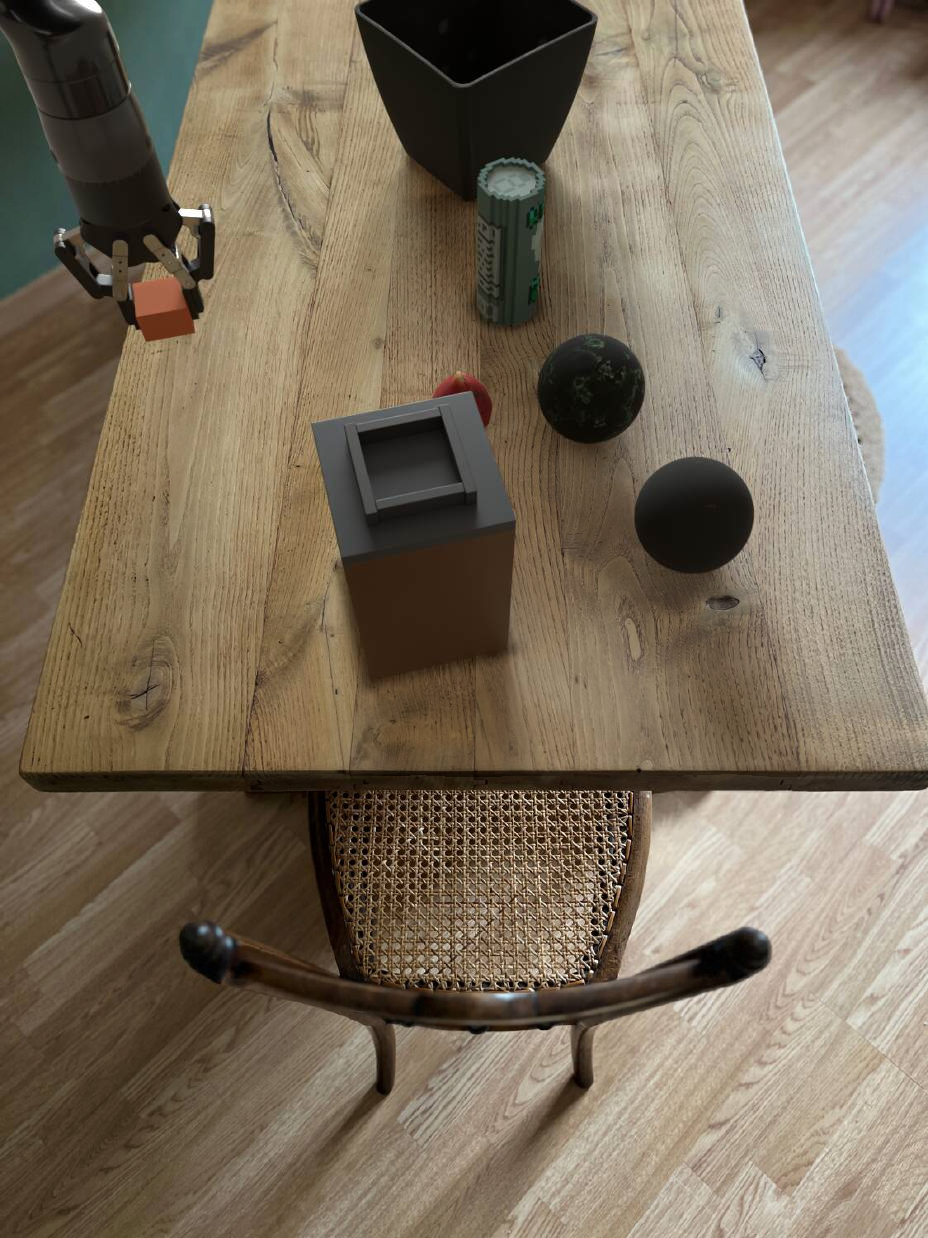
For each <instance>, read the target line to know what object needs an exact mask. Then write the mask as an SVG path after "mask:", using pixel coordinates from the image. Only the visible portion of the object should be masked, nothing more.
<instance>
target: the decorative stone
mask: <svg viewBox="0 0 928 1238" xmlns="http://www.w3.org/2000/svg"><path fill="white" fill-rule="evenodd" d="M645 396H646V378H645V373H644V369H643V367H642V364H641V362H640V360H639V359H638V357H637V356H636V354H635V353H634V352H633V351H632V349H631V348H630V347H629V346H628V345H627V344H625V343H624V342H623V341H621V340H620V339H617V338H615V337H613V336H611V335H607V334H604V333H595V332H594V333H590V332H589V333H584V334H579V335H575V336H573V337H570V338H569V339H567V340H564V341H563V342H562V343H560V344H559V345H557V346H556V347H555V348H554V349H553V350H552V351H551V352H550V353H549V354H548V356H547V357H546V358H545V360H544V362H543V363H542V366H541V368H540V370H539V373H538V377H537V383H536V397H537V403H538V407H539V410H540V411H541V414H542V416H543V418H544V419H545V421H546V423H547V425H549V427H550V428H551V429H552V430H553V431H554V432H556V433H557V434H558V435H560V436H561V437H563V438H565V439H567V440H568V441H571V442H574V443H577V444H578V443H579V444H584V445H593V444H594V445H595V444H601V443H604V442H607V441H610V440H613V439H614V438H615V439H616V437H619V435H621V434H623V433H624V432H625V431H626V430H627V429H629V428H630V427H631V425H632V424H633V423H634V422H635V420H636V418H637V417H638V415H639V414H640V412H641V410H642V407H643V405H644V400H645Z"/></svg>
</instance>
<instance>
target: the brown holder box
mask: <svg viewBox="0 0 928 1238" xmlns="http://www.w3.org/2000/svg"><path fill="white" fill-rule="evenodd" d="M310 426H311V431H312V435H313V439H314V444H315V449H316V454H317V458H318V462H319V466H320V471H321V474H322V479H323V484H324V488H325V493H326V498H327V501H328V507H329V511H330V515H331V520H332V524H333V528H334V533H335V537H336V542H337V547H338V552H339V556H340V559H341V564H342V569H343V572H344V577H345V581H346V585H347V590H348V593H349V598H350V602H351V607H352V611H353V615H354V621H355V624H356V627H357V632H358V637H359V642H360V645H361V648H362V653H363V658H364V662H365V666H366V671H367V674H368V680H369V681H370V682H373V681H376V680H381V679H387V678H389V677H395V676H399V675H402V674H408V673H412V672H415V671H416V672H417V671H420V670H424V669H430V668H433V667H437V666H443V665H446V664H451V663H454V662H460V661H463V660H469V659H472V658H476V657H480V656H484V655H489V654H493V653H494V654H495V653H498V652H502V651H507V650H508V649H509V634H510V622H511V620H510V619H511V605H512V591H513V577H514V575H513V574H514V561H515V547H516V546H515V545H516V534H517V533H516V530H517V518H516V516H515V512H514V509H513V506H512V503H511V501H510V498H509V495H508V492H507V489H506V486H505V483H504V481H503V478H502V474H501V471H500V469H499V466H498V462H497V459H496V457H495V453H494V451H493V448H492V445H491V442H490V440H489V437H488V434H487V431H486V428H484V425H483V422H482V419H481V416H480V413H479V410H478V407H477V404H476V401H475V398H474V395H473V393H472V391H470V392H464V393H459V394H454V395H449V396H444V397H439V398H434V399H432V398H430V399H424V400H420V401H419V400H418V401H415V402H410V403H405V404H400V405H399V404H398V405H394V406H389V407H385V408H380V409H379V408H378V409H375V410H369V411H365V412H360V413H354V414H350V415H349V414H348V415H344V416H340V417H339V416H338V417H334V418H328V419H323V420H319V421H314V422H311V423H310Z"/></svg>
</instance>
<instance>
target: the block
mask: <svg viewBox="0 0 928 1238" xmlns="http://www.w3.org/2000/svg"><path fill="white" fill-rule="evenodd" d="M131 287H132V289H133V292H134V299H135V314H136V319H137V321H138V324H139V326H140V329H141V330H140V331H141V334H142V336H143V338H144V340H145V343H150V342H155V341H159V340H165V339H171V338H177V337H182V336H187V335H192V334H195V333H196V328H195V322H194V321H195V320H192V317H191V314H190V311H189V308H188V305H187V302H186V300H185V298H184V295H183V292H182V287H181V284H180V282H179V281H178V280H177V279H176V277H175V276H174V275H173V276H169V277H163V278H158V279H152V280H147V281H146V280H145V281H141V282H135V283H132V285H131Z"/></svg>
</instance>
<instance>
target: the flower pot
mask: <svg viewBox="0 0 928 1238" xmlns="http://www.w3.org/2000/svg"><path fill="white" fill-rule="evenodd" d="M353 10H354V15H355V20H356V23H357V26H358V31H359V35H360V39H361V42H362V46H363V50H364V53H365V55H366V59H367V62H368V65H369V68H370V70H371V74H372V77H373V80H374V82H375V85H376V88H377V91H378V93H379V97H380V98H381V101H382V103H383V106H384V108H385V111H386V113H387V115H388V117H389V120H390V122H391V124H392V127H393V129H394V131H395V133H396V135H397V137H398V140H399V142H400V143H401V146H402V148H403V149H404V152H405V153H406V155H407V156H408V157H409V158H410V159H412V160H413V161H414V162H415V163H417V164H418V165H419V166H421V168H423V169H424V170H425V171H426V172H428V173H429V174H430V175H432V176H433V177H434V178H435V179H436V180H438V181H439V183H441V184H442V185H444V186H445V187H446V188H447V189H448V190H449V191H451V192H452V193H453V194H454V195H456V196H457V197H458V198H459V199H460V200H462V201H464V202H467V203H472V202H475V201H477V178H478V177H479V174H480V170H482V169H484V168H485V165H486V164H489V163H491V162H494V161H497V160H499V159H502V158H504V159H505V160H507V159H510V158H512V157H513V158H514V159H518V158H519V159H520V160H524V159H525V160H526V161H527V162H529V163H532V162H534V163H535V164H536V165H537V166H538V167H539V166H541V165H542V164H544V163H546V162H547V160H548V158H549V157H550V155H551V153H552V151H553V149H554V147H555V145H556V143H557V141H558V139H559V137H560V134H561V132H562V130H563V128H564V126H565V123H566V122H567V119H568V116H569V114H570V111H571V109H572V106H573V104H574V102H575V99H576V97H577V94H578V91H579V88H580V85H581V82H582V79H583V76H584V73H585V70H586V66H587V63H588V59H589V57H590V53H591V50H592V46H593V42H594V38H595V35H596V30H597V27H598V21H599V15H597V13H595V12H594V11H592V10H591V9H590V8H588V7H586V6H585V5H583V4H581V3H580V2H578V1H577V0H363V1H361V2H358V3H357V4H356V5H355V6H354V8H353Z"/></svg>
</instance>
